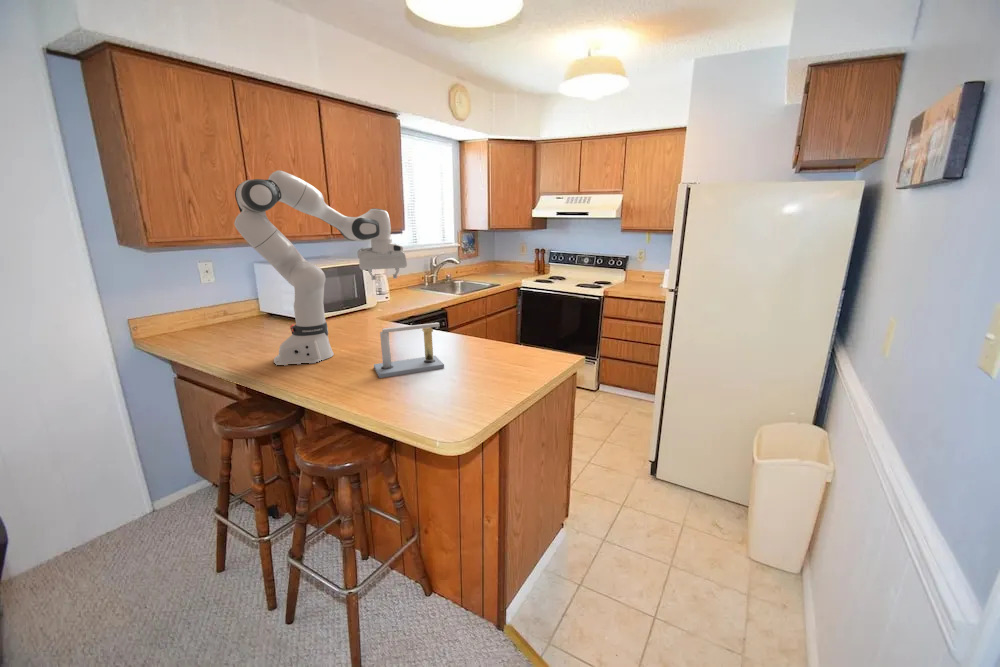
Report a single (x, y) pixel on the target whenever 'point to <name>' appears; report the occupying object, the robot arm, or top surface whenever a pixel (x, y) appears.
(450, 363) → the top surface
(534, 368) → the top surface
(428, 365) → the bolt plate
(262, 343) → the top surface
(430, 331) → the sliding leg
